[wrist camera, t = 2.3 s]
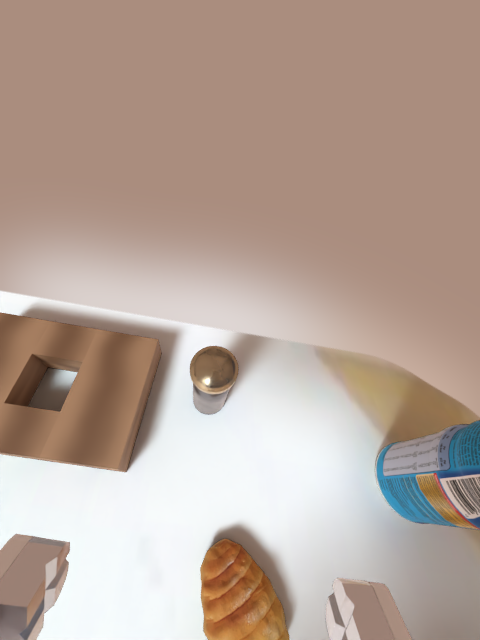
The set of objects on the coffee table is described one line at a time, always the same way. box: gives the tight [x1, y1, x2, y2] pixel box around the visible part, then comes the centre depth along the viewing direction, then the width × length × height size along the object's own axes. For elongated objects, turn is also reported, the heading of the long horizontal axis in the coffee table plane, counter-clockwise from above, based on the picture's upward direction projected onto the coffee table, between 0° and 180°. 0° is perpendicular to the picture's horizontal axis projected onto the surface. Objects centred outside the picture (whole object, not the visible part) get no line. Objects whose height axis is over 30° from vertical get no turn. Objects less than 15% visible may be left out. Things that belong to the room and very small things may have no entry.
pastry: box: [200, 539, 289, 640], centre depth 25 cm, size 9×7×4 cm
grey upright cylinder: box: [190, 346, 238, 415], centre depth 31 cm, size 5×5×10 cm
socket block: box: [0, 313, 161, 472], centre depth 32 cm, size 20×14×4 cm
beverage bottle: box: [375, 420, 480, 530], centre depth 25 cm, size 8×8×20 cm
